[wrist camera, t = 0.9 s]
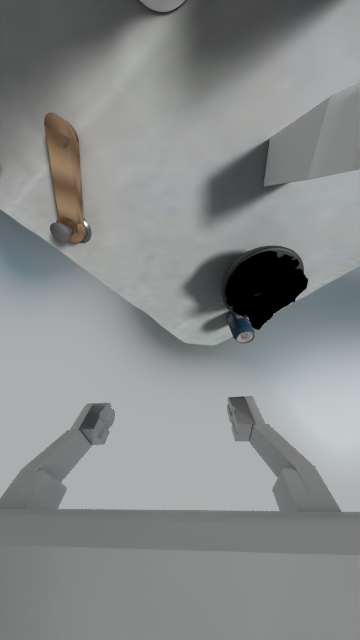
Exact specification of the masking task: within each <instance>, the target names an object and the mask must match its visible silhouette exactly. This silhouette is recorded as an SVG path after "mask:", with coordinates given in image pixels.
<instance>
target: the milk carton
mask: <svg viewBox="0 0 360 640" xmlns="http://www.w3.org/2000/svg"><path fill="white" fill-rule="evenodd" d="M359 169H360V83H359V84H356V85H354V86H352V87H350V88H348V89H345V90H343V91H341V92H339V93H336V94H334V95H332V96H330V97H329V98H328V99H326V100H325V101H323V102H322V103H320V104H319V105H317V106H316V107H314V108H313V109H312V110H310V111H309V112H307V113H306V114H304V115H303V116H301V117H300V118H298V119H297V120H296V121H294V122H293V123H291V124H290V125H288V126H287V127H285V128H284V129H282V130H281V131H280V132H278V133H277V134H275V135H274V136H272V137H271V138H270V141H269V149H268V156H267V163H266V171H265V178H264V186H270V185H277V184H283V183H290V182H296V181H303V180H309V179H314V178H319V177H324V176H328V175H333V174H338V173H343V172H348V171H353V170H359Z"/></svg>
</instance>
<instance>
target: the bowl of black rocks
mask: <svg viewBox="0 0 360 640" xmlns="http://www.w3.org/2000/svg"><path fill="white" fill-rule="evenodd" d="M307 283H308V279H307V278H306V277H305V275H304V267H303V263H302V260H301V258H300V257H299V256H298V254H297V253H295V252H294V251H293V250H291V249H288V248H285V247H281V246H264V247H259V248H255V249H253V250H250V251H248V252H246V253H245V254H243V255H242V256H240V257H239V258H238V259H236V260H235V261H234V262H233V264H232V265H231V266H230V267H229V269H228V270H227V272H226V274H225V276H224V279H223V283H222V298H223V302H224V304H225V306H226V307H227V308H228V310H230V311H231V312H232V313H234V314H236V315H238V316H242V317H248V318H249V321H250V323H251V326H252V327H253V328H254V329H258V330H259V329H260V328H261V327H262V325H263V324H264V323H265V322H267V320H269V319H270V318H271V317H272V316H273V314H274V313H276V312H277V311H279V310H280V309H282V308H284V307H285V306H287V305H289V304H290V303H291V302H295V298H296V297H297V296H298V295H299V294H300V293H301V292H302V291H304V290H305V289H306V288H307Z"/></svg>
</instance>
